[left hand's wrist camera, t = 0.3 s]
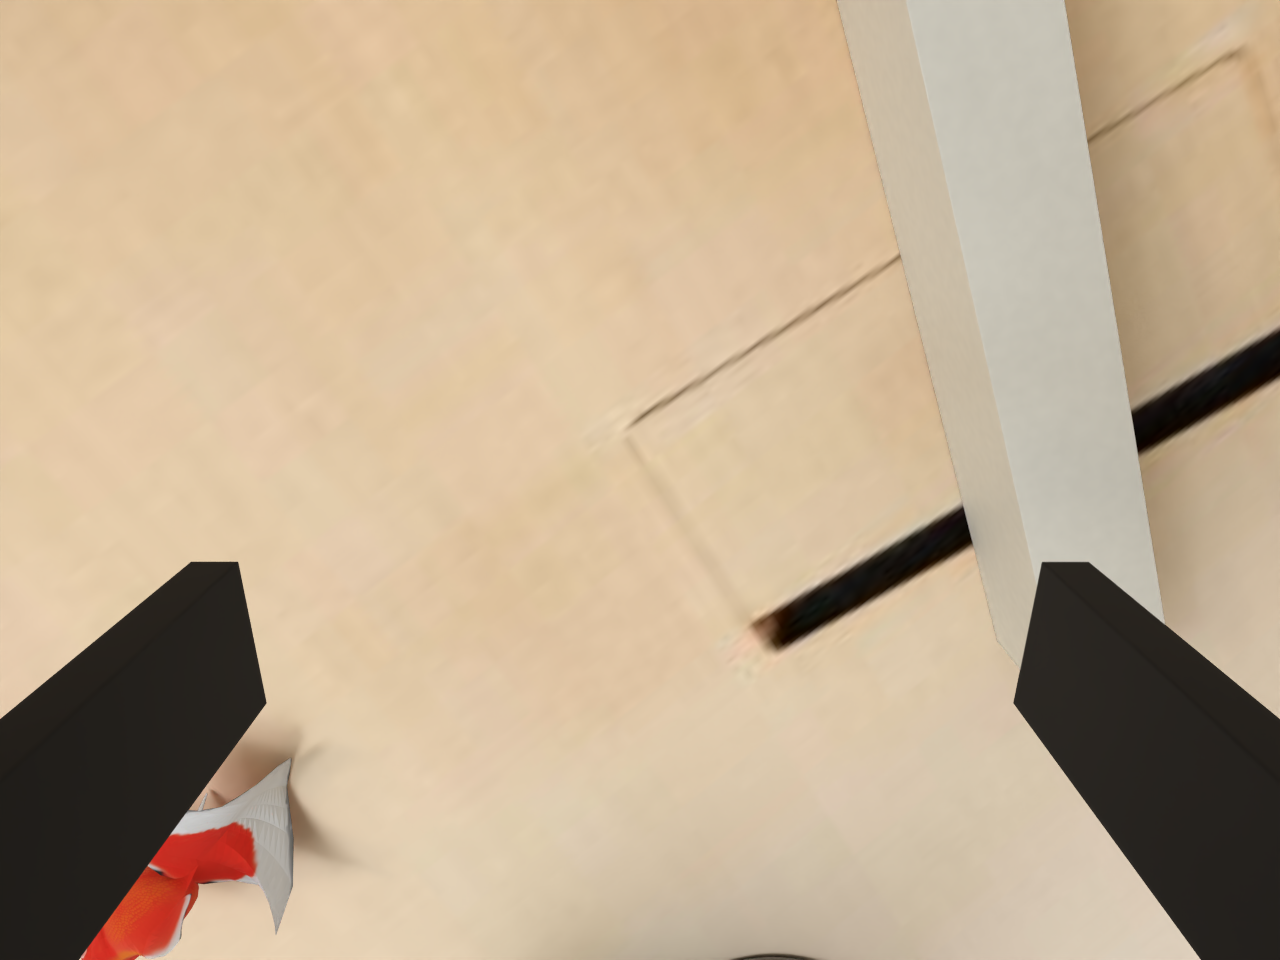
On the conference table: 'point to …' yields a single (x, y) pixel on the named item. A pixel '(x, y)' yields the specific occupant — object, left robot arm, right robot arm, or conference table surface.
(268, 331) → the conference table surface
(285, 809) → the fish
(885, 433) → the conference table surface
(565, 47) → the conference table surface
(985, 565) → the bar
